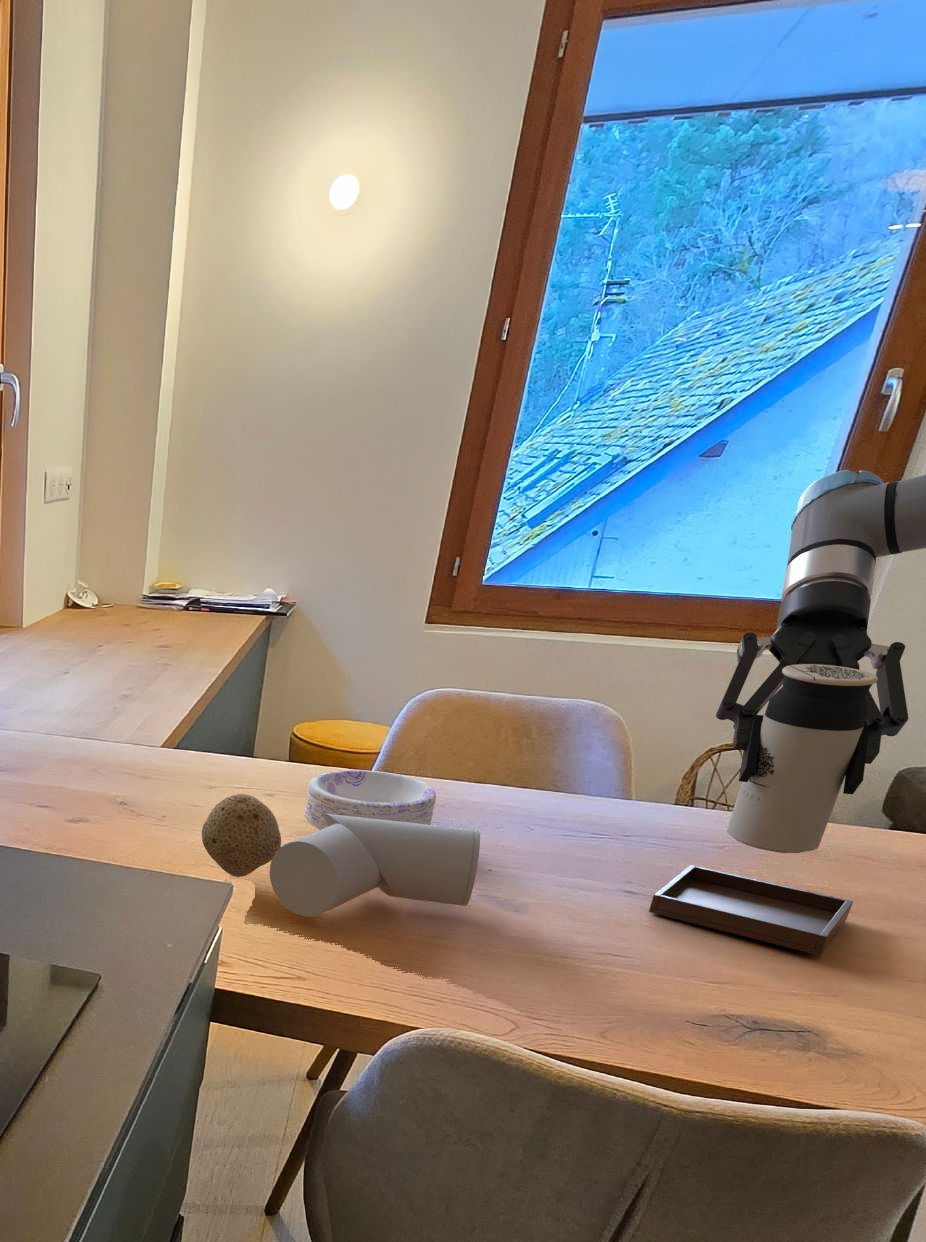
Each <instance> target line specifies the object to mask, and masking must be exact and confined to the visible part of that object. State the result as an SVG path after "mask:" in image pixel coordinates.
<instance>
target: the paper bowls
mask: <svg viewBox="0 0 926 1242" xmlns="http://www.w3.org/2000/svg"><path fill="white" fill-rule="evenodd" d="M436 800H437V793H436V791H435V789H434V788H433V787H432V786H431V785H429V784H428V783H427V782H424V781H422V780H420V779H417V778H414V777H410V776H408V775H403V774H398V773H393V772H386V771H381V770H380V771H379V770H366V769H344V770H334V771H328V772H324V773H320V774H318V775H317V774H316V775H315V776H313V777H312V778H311V779H310V781H309V782H308V790H307V793H306V801H305V809H304V818H305V819H306V822H307V823H309V825H311V826H312V827H314V828H316V829H317V830H318V831H319V830H321V829H324V828H326V827H329V826H328V824H327V822H326V820H325V817H324V814H332V815H342V816H351V817H360V818H370V819H379V820H389V821H398V822H407V823H417V824H426V825H432V821H433V816H434V810H435V805H436Z"/></svg>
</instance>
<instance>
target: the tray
mask: <svg viewBox="0 0 926 1242" xmlns="http://www.w3.org/2000/svg"><path fill="white" fill-rule="evenodd" d="M853 904H854V901H853V900H851V899H845V898H841V897H837V896H833V895H827V894H824V893H820V892H819V893H818V892H815V891H811V890H806V889H805V890H804V889H801V888H797V887H791V886H788V885H787V886H786V885H782V884H778V883H773V882H769V881H766V880H765V881H764V880H759V879H755V878H750V877H747V876H742V875H738V874H733V873H729V872H724V871H719V870H715V869H710V868H707V867H702V866H697V865H692V864H690V865H688V866H687V867H686V868H685V869H684V870H682V871H681V872H680V873H678V875H676V876H675V877H674V878H672V879H671V880H669V882H668V883H666V884H665V885H664V886H663V887H661V888H660V889H659V890H658V891H657V892H656V893H654V894H653V896H652V899H651V902H650V906H649V910H648V913H651V914H655V915H658V916H662V917H666V918H671V919H675V920H678V921H682V922H687V923H690V924H694V925H698V926H703V927H706V928H710V929H714V930H717V931H722V932H726V933H730V934H734V935H738V936H741V937H746V938H749V939H753V940H757V941H761V942H765V943H769V944H772V945H777V946H780V947H784V948H789V949H792V950H796V951H800V952H804V953H808V954H812V955H815V956H821V955H822V954H823V952H824V951H825V949H826V948H827V947H828V946H829V944H830V943H831V941H832V940H833V939H834V937H835V936H836V934H838V931H839V930H840V929H841V927H842V926H843V924H844V923H845V922H846V921H847V919H848V917H849V914H850V911H851V909H852V906H853Z"/></svg>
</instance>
